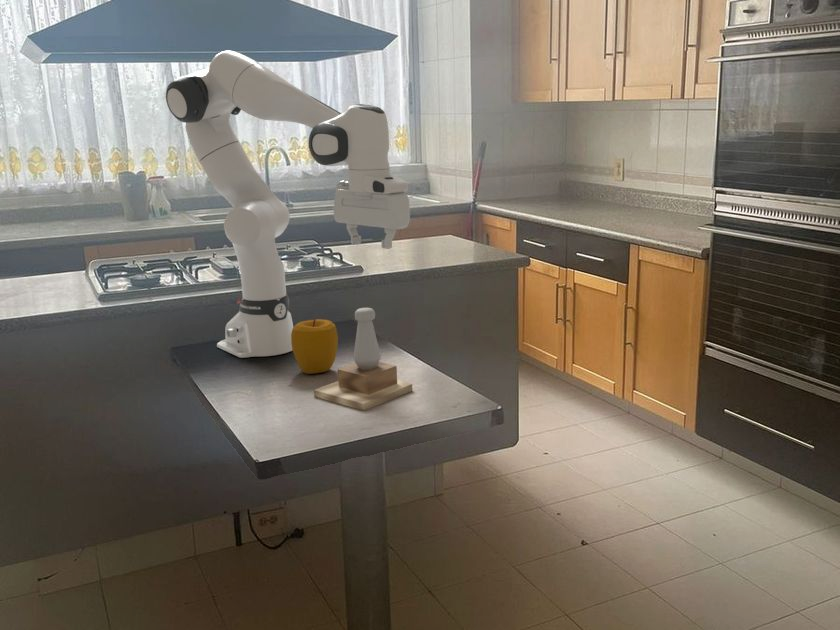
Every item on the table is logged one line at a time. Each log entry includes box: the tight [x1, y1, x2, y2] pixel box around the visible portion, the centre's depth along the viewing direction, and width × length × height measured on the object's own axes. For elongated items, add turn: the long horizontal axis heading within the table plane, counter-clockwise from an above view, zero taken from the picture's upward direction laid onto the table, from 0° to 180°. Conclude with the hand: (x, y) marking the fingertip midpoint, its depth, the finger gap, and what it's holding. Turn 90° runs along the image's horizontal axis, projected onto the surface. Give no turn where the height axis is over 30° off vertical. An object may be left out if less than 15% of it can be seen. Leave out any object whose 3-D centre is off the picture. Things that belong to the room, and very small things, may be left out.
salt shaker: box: [353, 307, 382, 370], centre depth 173 cm, size 6×6×13 cm
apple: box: [291, 318, 339, 375], centre depth 190 cm, size 11×11×13 cm
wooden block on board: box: [313, 361, 413, 411], centre depth 174 cm, size 15×15×6 cm
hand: (371, 246), depth 177 cm, fingers open, 8 cm apart
